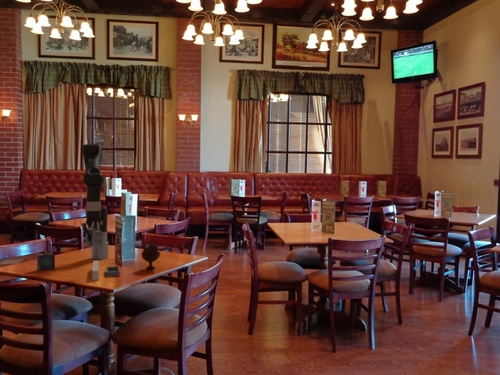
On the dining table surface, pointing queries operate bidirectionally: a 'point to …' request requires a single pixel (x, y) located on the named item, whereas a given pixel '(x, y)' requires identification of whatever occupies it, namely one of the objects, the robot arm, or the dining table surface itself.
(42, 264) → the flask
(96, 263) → the door board
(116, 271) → the cradle
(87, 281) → the dining table surface
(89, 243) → the block
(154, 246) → the ice cream bowl
